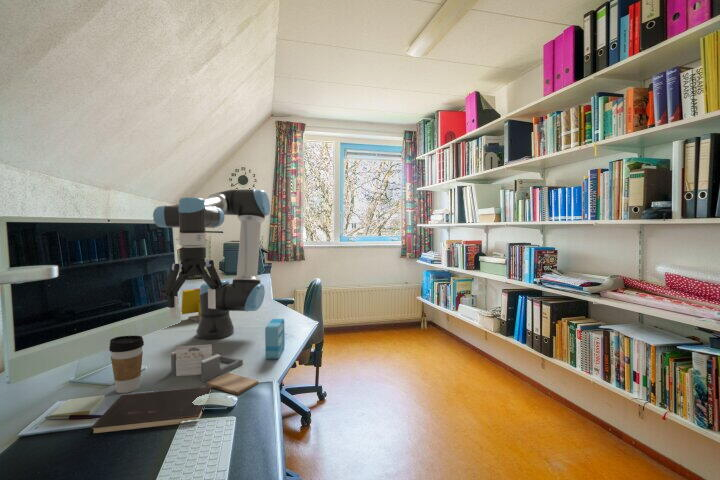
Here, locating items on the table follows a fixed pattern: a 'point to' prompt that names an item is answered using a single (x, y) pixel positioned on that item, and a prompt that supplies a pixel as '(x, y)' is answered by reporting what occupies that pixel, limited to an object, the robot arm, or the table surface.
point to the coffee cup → (126, 362)
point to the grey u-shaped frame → (211, 365)
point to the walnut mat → (232, 383)
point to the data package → (274, 339)
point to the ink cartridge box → (191, 359)
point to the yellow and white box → (191, 303)
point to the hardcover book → (151, 410)
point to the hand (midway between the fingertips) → (194, 312)
